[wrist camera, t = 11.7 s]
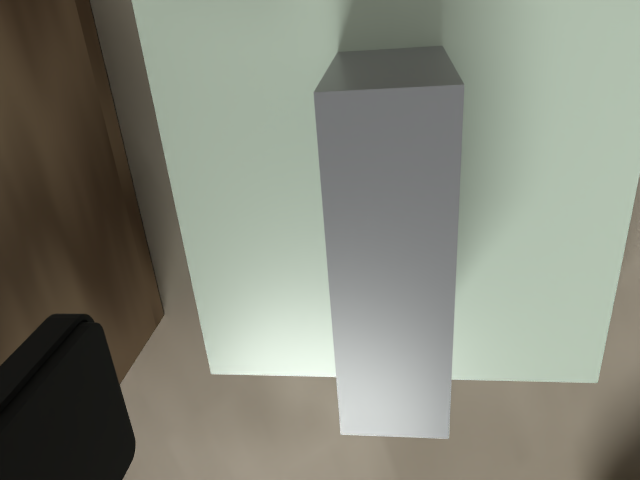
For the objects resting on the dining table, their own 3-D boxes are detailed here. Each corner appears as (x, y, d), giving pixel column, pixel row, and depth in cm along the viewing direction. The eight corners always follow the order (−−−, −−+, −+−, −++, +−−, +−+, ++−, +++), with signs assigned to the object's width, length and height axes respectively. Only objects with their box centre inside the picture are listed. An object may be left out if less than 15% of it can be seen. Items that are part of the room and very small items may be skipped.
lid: (574, 335, 19) (661, 514, 13) (229, 331, 21) (161, 487, 15) (643, -76, 13) (854, -104, 7) (162, -34, 15) (5, -28, 9)
